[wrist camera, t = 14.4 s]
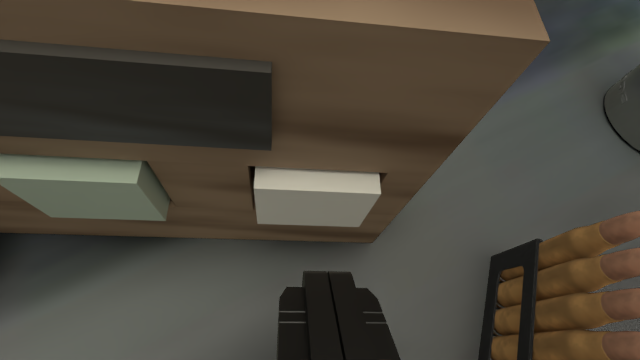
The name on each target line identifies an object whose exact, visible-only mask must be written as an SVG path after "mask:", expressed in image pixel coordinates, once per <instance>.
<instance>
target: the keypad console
mask: <svg viewBox="0 0 640 360" xmlns="http://www.w3.org/2000/svg"><path fill="white" fill-rule="evenodd" d="M549 42H550V39H549V37H548V35H547V32H546V30H545V27H544V25H543V22H542V20H541V17H540V15H539V12H538V10H537V7H536V5H535V2H534V0H0V154H20V155H40V156H60V157H80V158H100V159H120V160H140V161H147V162H148V164H149V165H150V167H151V168H152V170H153V171H154V173H155V175H156V176H157V178H158V179H159V181H160V182H161V184H162V186H163V187H164V189H165V190H166V192H167V193H168V195H169V197H170V201H169V207H168V212H167V217H166V221H151V220H120V219H89V218H58V217H50V216H48V215H47V214H45V213H44V212H42V211H41V210H39V209H37V208H36V207H34V206H33V205H31V204H29V203H28V202H26V201H25V200H23V199H22V198H20V197H18V196H17V195H15V194H14V193H12V192H11V191H9V190H7V189H6V188H4V187H3V186H1V185H0V233H32V234H68V235H105V236H142V237H178V238H215V239H251V240H288V241H325V242H361V243H373V242H374V240H375V239H376V238H377V237H378V236H379V235H380V234H381V232H382V231H383V230H384V229H385V228H386V227H387V226H388V225H389V223H390V222H391V221H392V220H393V219H394V218H395V217H396V215H397V214H398V213H399V212H400V211H401V210H402V209H403V208H404V206H405V205H406V204H407V203H408V202H409V201H410V200H411V198H412V197H413V196H414V195H415V194H416V193H417V192H418V191H419V189H420V188H421V187H422V186H423V185H424V184H425V183H426V181H427V180H428V179H429V178H430V177H431V176H432V175H433V173H434V172H435V171H436V170H437V169H438V168H439V167H440V166H441V164H442V163H443V162H444V161H445V160H446V159H447V158H448V156H449V155H450V154H451V153H452V152H453V151H454V150H455V149H456V147H457V146H458V145H459V144H460V143H461V142H462V141H463V139H464V138H465V137H466V136H467V135H468V134H469V133H470V132H471V130H472V129H473V128H474V127H475V126H476V125H477V124H478V122H479V121H480V120H481V119H482V118H483V117H484V116H485V115H486V113H487V112H488V111H489V110H490V109H491V108H492V107H493V105H494V104H495V103H496V102H497V101H498V100H499V99H500V98H501V96H502V95H503V94H504V93H505V92H506V91H507V90H508V88H509V87H510V86H511V85H512V84H513V83H514V82H515V81H516V79H517V78H518V77H519V76H520V75H521V74H522V73H523V71H524V70H525V69H526V68H527V67H528V66H529V65H530V64H531V62H532V61H533V60H534V59H535V58H536V57H537V56H538V54H539V53H540V52H541V51H542V50H543V49H544V48H545V47H546V45H547V44H548V43H549ZM255 166H261V167H281V168H301V169H321V170H341V171H361V172H379V177H380V188H381V195H380V196H379V198H378V199H377V201H376V202H375V204H374V205H373V207H372V208H371V210H370V211H369V213H368V214H367V216H366V217H365V219H364V220H363V222H362V223H361V225H360V226H359V227H340V226H309V225H278V224H257V215H256V206H255V196H254V178H255Z"/></svg>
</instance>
